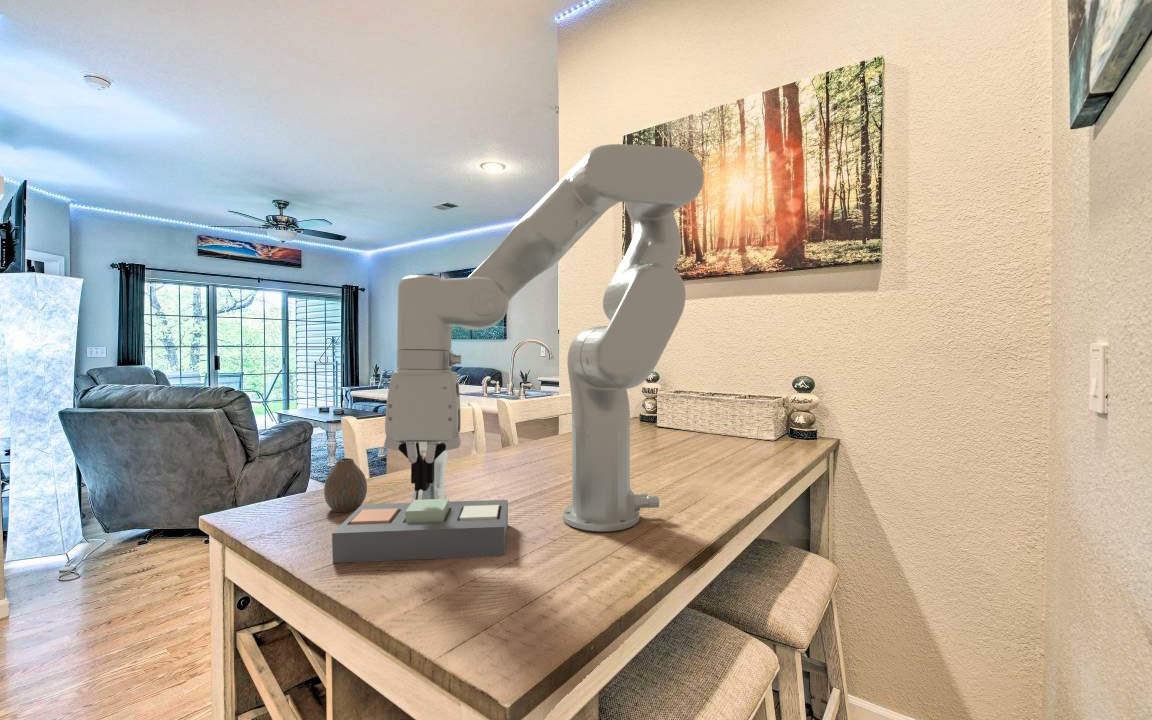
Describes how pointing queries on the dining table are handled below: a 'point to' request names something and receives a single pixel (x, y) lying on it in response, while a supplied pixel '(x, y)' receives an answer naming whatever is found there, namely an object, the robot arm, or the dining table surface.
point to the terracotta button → (375, 516)
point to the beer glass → (437, 487)
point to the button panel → (421, 536)
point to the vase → (345, 486)
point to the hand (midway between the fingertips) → (422, 488)
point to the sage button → (428, 510)
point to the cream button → (480, 513)
